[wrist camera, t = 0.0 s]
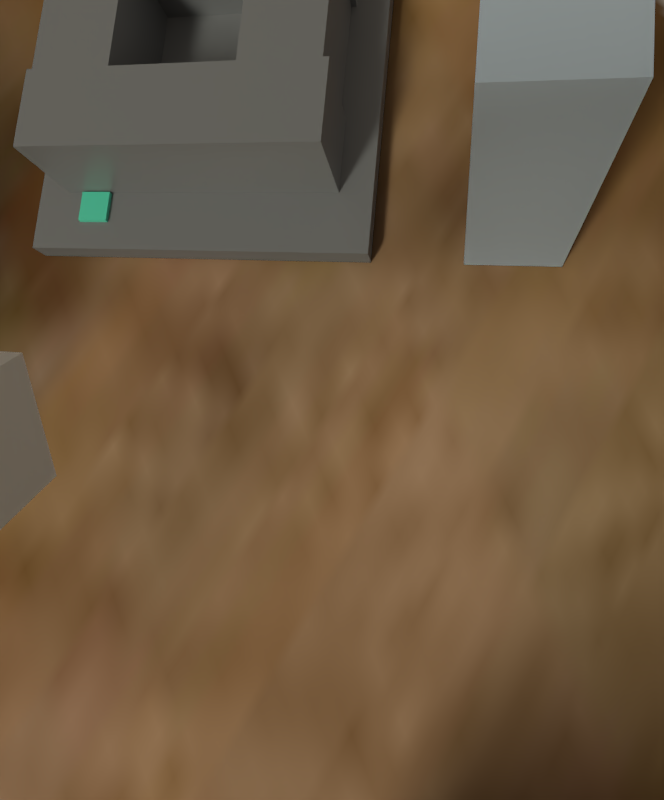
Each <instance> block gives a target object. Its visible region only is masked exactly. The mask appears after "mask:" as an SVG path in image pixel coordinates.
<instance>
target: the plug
mask: <svg viewBox="0 0 664 800" xmlns="http://www.w3.org/2000/svg"><path fill="white" fill-rule="evenodd" d="M654 30H655V0H480V12H479V27H478V43H477V58H476V73H475V89H474V106H473V122H472V138H471V155H470V171H469V187H468V203H467V220H466V236H465V252H464V265H505V266H552V267H562V266H563V264H564V262H565V260H566V258H567V256H568V254H569V251H570V249H571V247H572V245H573V243H574V241H575V239H576V237H577V235H578V233H579V231H580V229H581V227H582V224H583V222H584V220H585V218H586V216H587V214H588V212H589V210H590V208H591V206H592V204H593V202H594V200H595V197H596V195H597V193H598V191H599V189H600V187H601V185H602V183H603V181H604V179H605V177H606V175H607V173H608V170H609V168H610V166H611V164H612V162H613V160H614V158H615V156H616V154H617V152H618V150H619V148H620V146H621V143H622V141H623V139H624V137H625V135H626V133H627V131H628V129H629V127H630V125H631V123H632V121H633V119H634V116H635V114H636V112H637V110H638V108H639V106H640V104H641V102H642V100H643V98H644V96H645V94H646V92H647V89H648V87H649V85H650V83H651V81H652V79H653V77H654Z"/></svg>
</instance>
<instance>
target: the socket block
mask: <svg viewBox="0 0 664 800" xmlns="http://www.w3.org/2000/svg"><path fill="white" fill-rule="evenodd" d="M393 1H394V0H44V3H43V9H42V14H41V20H40V26H39V31H38V37H37V43H36V49H35V54H34V60H33V66H32V69H27V70H26V76H25V81H24V87H23V93H22V98H21V104H20V110H19V115H18V121H17V127H16V133H15V138H14V144H13V147H14V148H15V149H17V150H18V151H19V152H20V153H21V154H23V155H24V156H25V157H26V158H28V159H29V160H30V161H31V162H33V163H34V164H35V165H36V166H37V167H39V168H40V169H41V170H42V171H44V172H45V177H44V182H43V188H42V194H41V200H40V206H39V212H38V218H37V224H36V230H35V236H34V242H33V248H34V249H36V250H38V251H39V252H41V253H42V254H44V255H46V256H91V257H138V258H186V259H233V260H280V261H327V262H371V254H372V243H373V231H374V220H375V208H376V197H377V185H378V174H379V162H380V151H381V139H382V128H383V116H384V105H385V93H386V82H387V70H388V59H389V47H390V36H391V24H392V13H393Z"/></svg>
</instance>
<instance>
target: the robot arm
mask: <svg viewBox="0 0 664 800" xmlns="http://www.w3.org/2000/svg"><path fill="white" fill-rule="evenodd" d="M55 477H56V472H55V469H54V465H53V462H52V458H51V454H50V451H49V447H48V444H47V440H46V436H45V433H44V429H43V426H42V422H41V419H40V415H39V411H38V408H37V404H36V401H35V397H34V393H33V390H32V386H31V383H30V379H29V375H28V372H27V368H26V365H25V361H24V357H23V354H22V353H18V352H0V530H1V529H2V528H3V527H4V526H5V525H6V524H7V523H8V522H9V521H10V520H11V519H12V518H13V517H14V516H15V515H16V514H17V513H18V512H19V511H20V510H21V509H22V508H23V507H24V506H26V505H27V504H28V503H29V502H30V501H31V500H32V499H33V498H34V497H35V496H36V495H37V494H38V493H39V492H40V491H41V490H42V489H43V488H44V487H45V486H46V485H47V484H48V483H49V482H51V481H52V480H53V479H54V478H55Z"/></svg>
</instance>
